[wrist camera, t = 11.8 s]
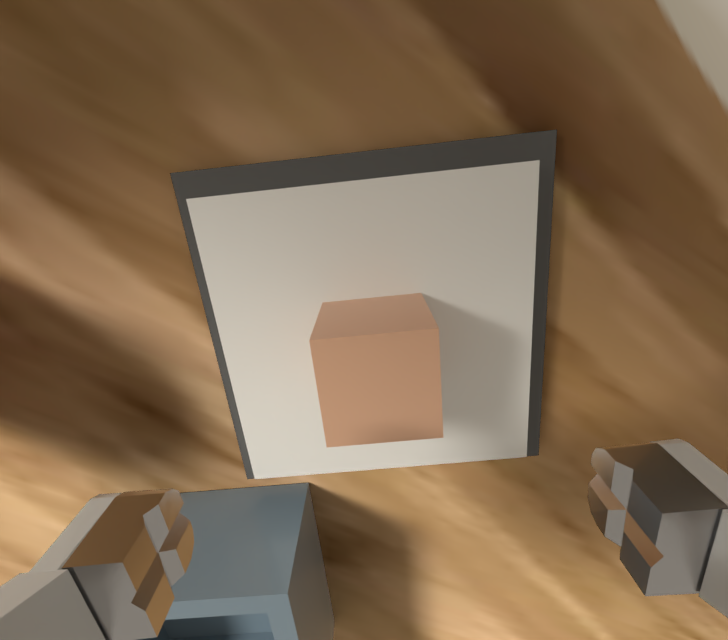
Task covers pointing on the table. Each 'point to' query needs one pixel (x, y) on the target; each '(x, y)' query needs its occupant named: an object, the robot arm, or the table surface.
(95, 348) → the table surface
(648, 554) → the robot arm
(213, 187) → the mat
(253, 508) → the open box
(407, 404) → the lid
